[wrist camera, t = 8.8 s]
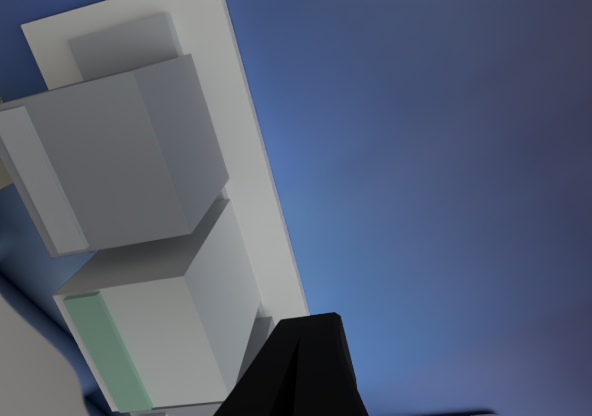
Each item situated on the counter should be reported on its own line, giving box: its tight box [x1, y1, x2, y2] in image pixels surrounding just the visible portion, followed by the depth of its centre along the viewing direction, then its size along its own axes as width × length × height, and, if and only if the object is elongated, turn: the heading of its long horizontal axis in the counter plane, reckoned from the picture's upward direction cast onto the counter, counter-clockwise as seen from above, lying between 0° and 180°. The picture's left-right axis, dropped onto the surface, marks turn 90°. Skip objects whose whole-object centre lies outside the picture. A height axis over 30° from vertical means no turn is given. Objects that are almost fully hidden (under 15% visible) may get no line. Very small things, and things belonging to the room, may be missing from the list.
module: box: [53, 199, 261, 413], centre depth 17 cm, size 5×4×6 cm
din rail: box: [0, 0, 310, 416], centre depth 18 cm, size 22×8×6 cm, turn 13°
